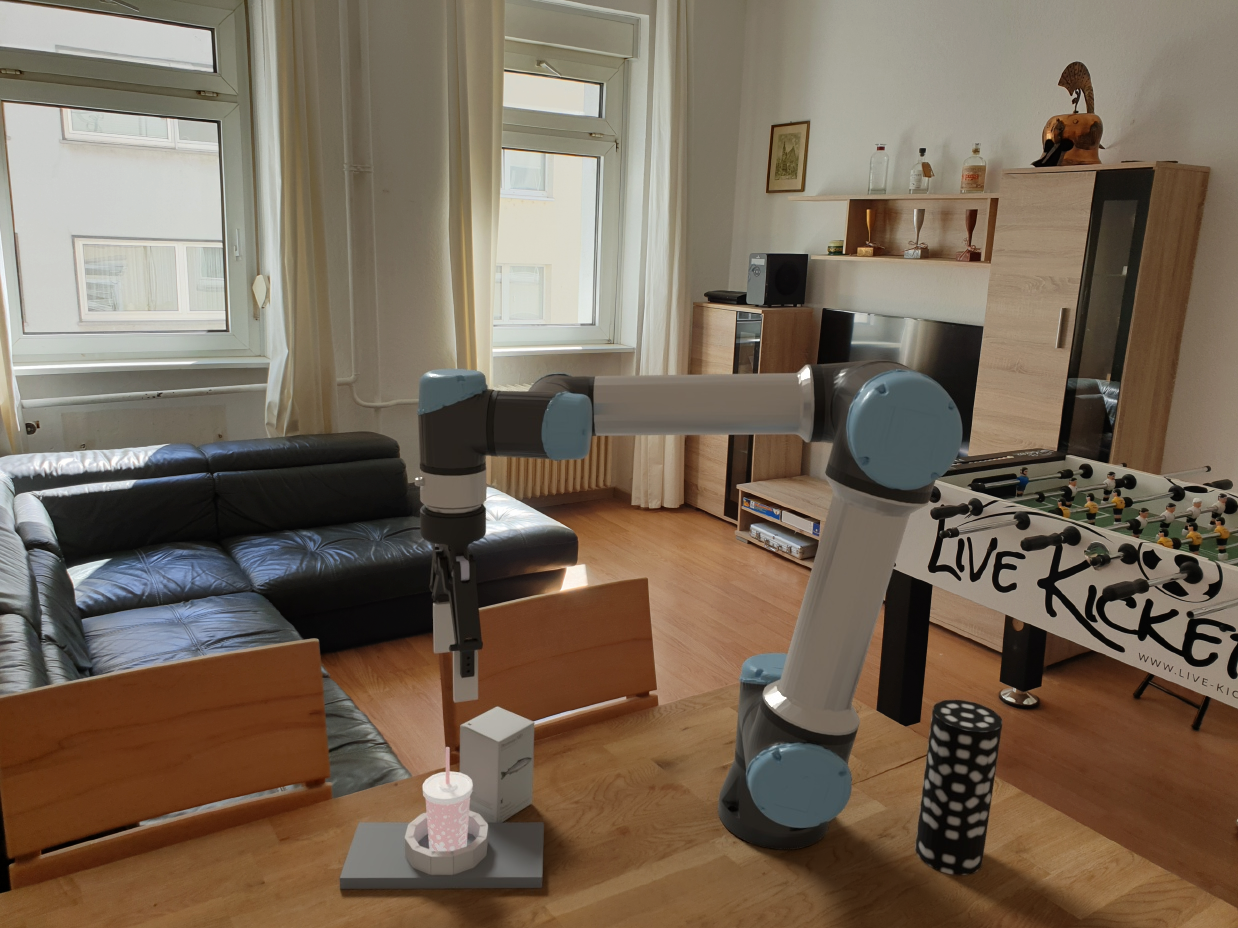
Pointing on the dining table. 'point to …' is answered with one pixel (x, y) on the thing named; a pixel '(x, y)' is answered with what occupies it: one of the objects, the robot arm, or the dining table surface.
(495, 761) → the supplement box
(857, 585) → the robot arm
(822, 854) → the dining table surface
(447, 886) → the collar board
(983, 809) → the spotted tube
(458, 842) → the beverage cup
